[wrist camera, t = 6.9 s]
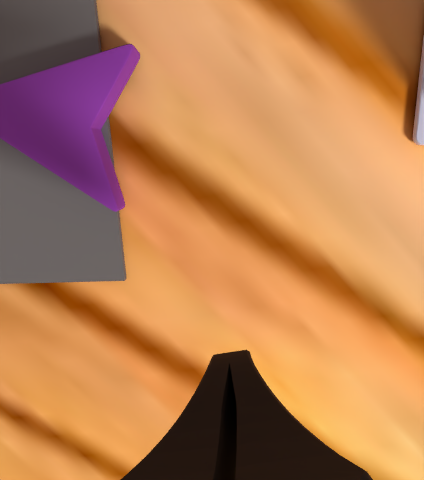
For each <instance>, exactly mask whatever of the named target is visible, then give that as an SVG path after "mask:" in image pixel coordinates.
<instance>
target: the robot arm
mask: <svg viewBox="0 0 424 480" xmlns="http://www.w3.org/2000/svg"><path fill="white" fill-rule="evenodd" d="M413 141H414V143H415V144H417V145H424V37H423V46H422V55H421V65H420V74H419V83H418V92H417V102H416V111H415V120H414V130H413ZM121 480H373V479H372V478H371V477H370V475H369V474H368V473H367V472H366V471H365V470H363V469H362V468H360V467H358V466H357V465H355V464H353V463H352V462H350V461H349V460H347V459H345V458H344V457H342V456H340V455H339V454H338V453H336V452H335V451H334V450H332V449H331V448H329V447H328V446H327V445H325V444H324V443H323V442H322V441H320V440H319V439H318V438H317V437H316V436H315V435H313V434H312V433H311V432H310V431H309V430H307V429H306V428H305V427H304V426H303V425H302V424H301V423H300V422H299V421H298V420H297V419H296V418H294V416H293V415H292V414H291V413H290V412H289V411H288V410H287V409H286V408H285V407H284V406H283V405H282V403H281V402H280V401H279V400H278V399H277V397H276V396H275V395H274V394H273V392H272V391H271V390H270V388H269V387H268V386H267V384H266V383H265V381H264V380H263V378H262V377H261V375H260V374H259V372H258V370H257V368H256V367H255V365H254V363H253V360H252V358H251V355H250V352H249V351H247V350H242V351H236V352H229V353H222V354H216V355H213V357H212V358H211V361H210V363H209V365H208V368H207V370H206V372H205V374H204V376H203V378H202V380H201V382H200V384H199V386H198V387H197V389H196V391H195V393H194V395H193V396H192V398H191V400H190V401H189V403H188V404H187V406H186V408H185V409H184V411H183V412H182V414H181V415H180V417H179V418H178V419H177V421H176V422H175V424H174V425H173V426H172V427H171V429H170V430H169V431H168V433H167V434H166V435H165V436H164V437H163V438H162V440H161V441H160V442H159V443H158V444H157V445H156V446H155V447H154V448H153V449H152V451H151V452H150V453H149V454H148V455H147V456H146V457H145V458H144V459H143V460H142V461H141V462H140V463H139V464H138V465H136V466H135V467H134V468H133V469H132V470H131V471H130V472H129V473H128V474H127V475H125V476H124V477H123V478H122V479H121Z"/></svg>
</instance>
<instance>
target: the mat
mask: <svg viewBox="0 0 424 480" xmlns="http://www.w3.org/2000/svg"><path fill="white" fill-rule="evenodd" d="M100 52H102V51H101V41H100V32H99V23H98V14H97V5H96V0H0V84H3V83H6V82H9V81H12V80H15V79H19V78H22V77H25V76H28V75H31V74H34V73H37V72H40V71H44V70H47V69H50V68H53V67H56V66H59V65H62V64H66V63H69V62H72V61H75V60H78V59H81V58H85V57H88V56H91V55H94V54H97V53H100ZM101 131H102V134H103V137H104V140H105V143H106V146H107V149H108V152H109V155H110V158H111V161H112V164H113V167H114V161H113V151H112V142H111V133H110V124H109V116H108V118H107V120H106V122H105V123H104V125H103V127H102V129H101ZM125 280H126V271H125V261H124V252H123V243H122V234H121V225H120V216H119V211H117V212H115V211H112V210H111V209H109V208H107V207H106V206H104V205H103V204H101V203H99V202H98V201H96V200H95V199H93V198H92V197H90V196H89V195H87V194H85V193H84V192H82V191H81V190H79V189H78V188H76V187H75V186H73V185H71V184H70V183H68V182H67V181H65V180H64V179H62V178H61V177H59V176H58V175H56V174H54V173H53V172H51V171H50V170H48V169H47V168H45V167H44V166H42V165H41V164H39V163H37V162H36V161H34V160H33V159H31V158H30V157H28V156H27V155H25V154H24V153H22V152H21V151H19V150H17V149H16V148H14V147H13V146H11V145H10V144H8V143H7V142H5V141H4V140H2V139H1V138H0V284H10V283H50V282H90V281H125Z"/></svg>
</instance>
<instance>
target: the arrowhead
mask: <svg viewBox="0 0 424 480" xmlns="http://www.w3.org/2000/svg"><path fill="white" fill-rule="evenodd" d="M139 59H140V53H139V52H138V51H137V49H136V48H135V47H134V46H133V45H132V44H127V45H123V46H120V47H116V48H113V49H110V50H107V51H104V52H100V53H97V54H94V55H91V56H88V57H85V58H81V59H78V60H75V61H72V62H69V63H66V64H62V65H59V66H56V67H53V68H50V69H47V70H44V71H40V72H37V73H34V74H31V75H28V76H25V77H22V78H19V79H15V80H12V81H9V82H6V83H3V84H0V138H1V139H2V140H4V141H5V142H7V143H8V144H10V145H11V146H13V147H14V148H16V149H17V150H19V151H21V152H22V153H24V154H25V155H27V156H28V157H30V158H31V159H33V160H34V161H36V162H37V163H39V164H41V165H42V166H44V167H45V168H47V169H48V170H50V171H51V172H53V173H54V174H56V175H58V176H59V177H61V178H62V179H64V180H65V181H67V182H68V183H70V184H71V185H73V186H75V187H76V188H78V189H79V190H81V191H82V192H84V193H85V194H87V195H89V196H90V197H92V198H93V199H95V200H96V201H98V202H99V203H101V204H103V205H104V206H106V207H107V208H109V209H111V210H112V211H115V212H117V211H119V210H121V209H123V208H124V207H125V202H124V198H123V195H122V192H121V189H120V186H119V183H118V180H117V177H116V174H115V170H114V167H113V164H112V161H111V158H110V155H109V152H108V149H107V146H106V143H105V140H104V137H103V134H102V131H101V129H102V127H103V125H104V123H105V122H106V120H107V118H108V116H109V114H110V112H111V111H112V109H113V107H114V105H115V103H116V102H117V100H118V98H119V96H120V94H121V92H122V91H123V89H124V87H125V85H126V83H127V81H128V80H129V78H130V76H131V74H132V72H133V70H134V69H135V67H136V65H137V63H138V61H139Z"/></svg>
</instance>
